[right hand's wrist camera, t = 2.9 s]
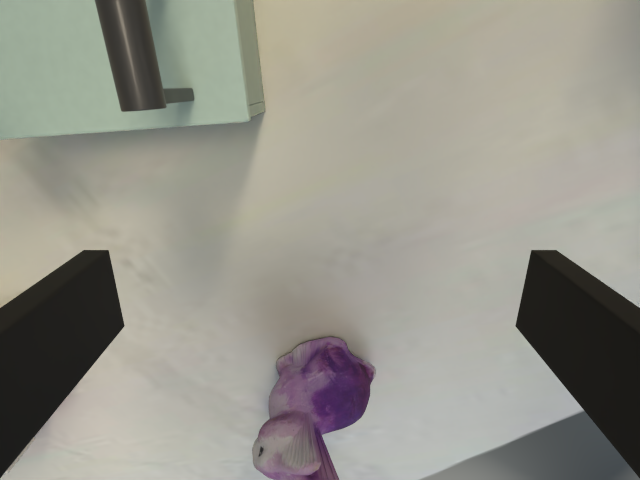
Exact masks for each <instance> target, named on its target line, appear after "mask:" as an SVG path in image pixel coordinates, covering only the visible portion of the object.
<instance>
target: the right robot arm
mask: <svg viewBox="0 0 640 480" xmlns="http://www.w3.org/2000/svg"><path fill="white" fill-rule="evenodd" d="M123 327H124V322H123V317H122V312H121V308H120V303H119V298H118V293H117V288H116V284H115V279H114V274H113V269H112V264H111V260H110V255H109V250H83V251H82V252H81V253H79V254H78V255H76V256H75V257H73V258H72V259H71V260H69V261H68V262H66V263H65V264H63V265H62V266H60V267H59V268H58V269H56V270H55V271H53V272H52V273H50V274H49V275H47V276H46V277H45V278H43V279H42V280H40V281H39V282H37V283H36V284H34V285H33V286H32V287H30V288H29V289H27V290H26V291H24V292H23V293H21V294H20V295H19V296H17V297H16V298H14V299H13V300H11V301H10V302H8V303H7V304H6V305H4V306H3V307H1V308H0V478H1V477H2V475H3V474H4V473H5V472H6V471H7V469H8V468H9V467H10V466H11V464H12V463H13V462H14V461H15V459H16V458H17V457H18V456H19V455H20V453H21V452H22V451H23V450H24V448H25V447H26V446H27V445H28V444H29V442H30V441H31V440H32V439H33V437H34V436H35V435H36V434H37V433H38V431H39V430H40V429H41V428H42V426H43V425H44V424H45V423H46V422H47V420H48V419H49V418H50V417H51V415H52V414H53V413H54V412H55V410H56V409H57V408H58V407H59V406H60V404H61V403H62V402H63V401H64V399H65V398H66V397H67V396H68V395H69V393H70V392H71V391H72V390H73V388H74V387H75V386H76V385H77V384H78V382H79V381H80V380H81V379H82V377H83V376H84V375H85V374H86V373H87V371H88V370H89V369H90V368H91V366H92V365H93V364H94V363H95V361H96V360H97V359H98V358H99V357H100V355H101V354H102V353H103V352H104V350H105V349H106V348H107V347H108V346H109V344H110V343H111V342H112V341H113V339H114V338H115V337H116V336H117V335H118V333H119V332H120V331H121V330H122V328H123ZM516 327H517V328H518V330H519V331H520V332H521V333H522V335H523V336H524V337H525V338H526V339H527V341H528V342H529V343H530V344H531V346H532V347H533V348H534V349H535V350H536V352H537V353H538V354H539V355H540V357H541V358H542V359H543V360H544V361H545V363H546V364H547V365H548V366H549V368H550V369H551V370H552V371H553V373H554V374H555V375H556V376H557V377H558V379H559V380H560V381H561V382H562V384H563V385H564V386H565V387H566V388H567V390H568V391H569V392H570V393H571V395H572V396H573V397H574V398H575V399H576V401H577V402H578V403H579V404H580V406H581V407H582V408H583V409H584V410H585V412H586V413H587V414H588V415H589V417H590V418H591V419H592V420H593V422H594V423H595V424H596V425H597V426H598V428H599V429H600V430H601V431H602V433H603V434H604V435H605V436H606V437H607V439H608V440H609V441H610V442H611V444H612V445H613V446H614V447H615V448H616V450H617V451H618V452H619V453H620V455H621V456H622V457H623V458H624V459H625V461H626V462H627V463H628V464H629V466H630V467H631V468H632V469H633V471H634V472H635V473H636V474H637V475H638V477H639V478H640V308H639V307H637V306H636V305H634V304H633V303H632V302H630V301H629V300H627V299H626V298H624V297H623V296H621V295H620V294H619V293H617V292H616V291H614V290H613V289H611V288H610V287H608V286H607V285H606V284H604V283H603V282H601V281H600V280H598V279H597V278H595V277H594V276H593V275H591V274H590V273H588V272H587V271H585V270H584V269H582V268H581V267H580V266H578V265H577V264H575V263H574V262H572V261H571V260H569V259H568V258H567V257H565V256H564V255H562V254H561V253H559V252H558V251H557V250H531V255H530V260H529V264H528V269H527V274H526V279H525V284H524V288H523V293H522V298H521V303H520V308H519V312H518V317H517V322H516Z"/></svg>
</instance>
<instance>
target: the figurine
mask: <svg viewBox="0 0 640 480" xmlns="http://www.w3.org/2000/svg"><path fill="white" fill-rule="evenodd" d="M276 367H277V370H278V373H279V376H280V378H279V380H278V382H277V383H276V385H275V386H274V388H273V389H272V391H271V393H270V396H269V415H270V419H269V420H268V421H267V422H266V423H265V424H264V425H263V426H262V427H261V429H260V431H259V435H258V438H257V439H256V441H255V442H254V445H253V450H252V451H253V464H254V466H255V468H256V469H257V470H259V471H260V472H261V473H263V474H264V475H265V476H267V477H268V478H271V479H274V480H339V478H338V476H337V473H336V471H335V468H334V466H333V463H332V460H331V458H330V455H329V453H328V450H327V448H326V445H325V443H324V440H323V438H322V435H323V434H325V433H329V432H332V431H335V430H339V429H342V428H345V427H347V426H349V425H352V424H353V423H355V422H356V421H357V420H359V419H360V418H361V417H362V415H363V414H364V412H365V410H366V407H367V404H368V400H369V397H370V384H371V382H372V380H373V378H374V377H375V374H376V369H375V368H374V366H373V365H372V364H370V363H368V362H366V361H364V360H361V359H359V358H357V357H355V356H354V355H352V354H351V353H350V351H349V350H348V347H347V344H346V343H345V342H344V341H343V340H341V339H339V338H335V337H327V338H321V339H316V340H312V341H308V342H305V343H303V344H299V345H298V346H297V347H296V348H295V349H294V350H292V352H291V353H289V354H287V355H285V356H282V357H281V358H279V359H278V360H277V362H276Z"/></svg>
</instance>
